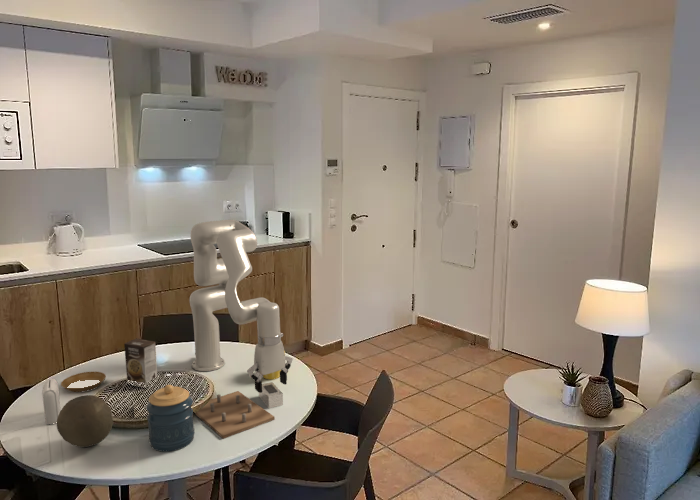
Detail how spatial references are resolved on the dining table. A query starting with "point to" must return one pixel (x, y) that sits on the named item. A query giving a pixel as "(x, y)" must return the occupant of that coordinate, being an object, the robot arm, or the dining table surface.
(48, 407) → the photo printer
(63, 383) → the plant saucer
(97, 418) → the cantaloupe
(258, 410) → the wooden peg board
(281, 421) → the dining table surface
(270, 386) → the block
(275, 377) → the plant pot
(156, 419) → the canister
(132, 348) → the coffee box
